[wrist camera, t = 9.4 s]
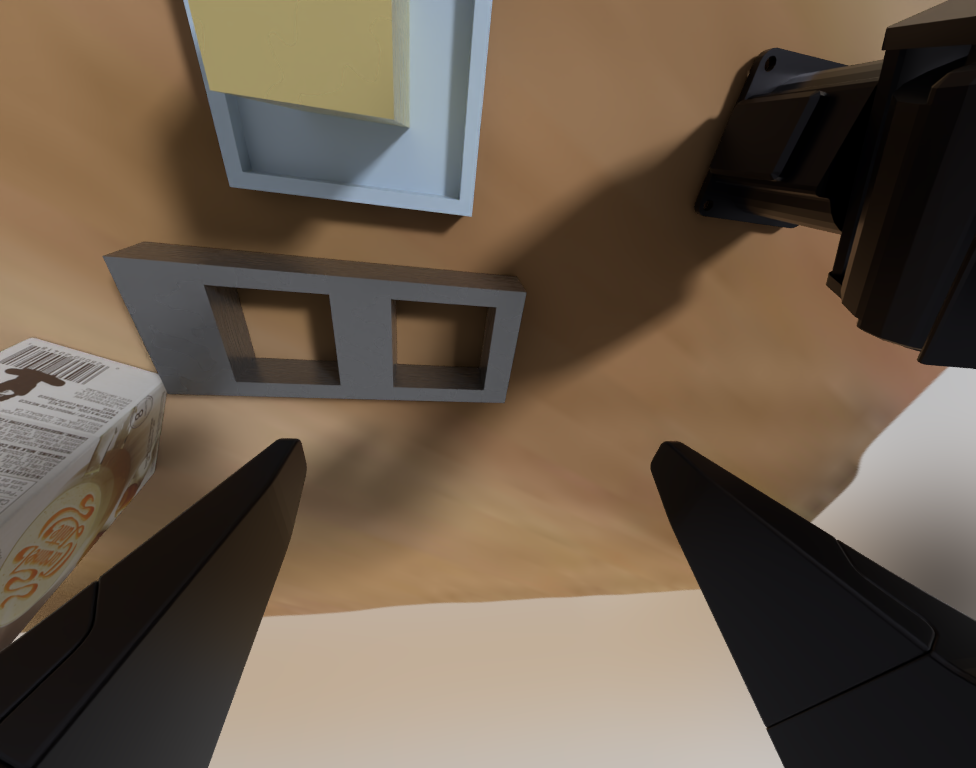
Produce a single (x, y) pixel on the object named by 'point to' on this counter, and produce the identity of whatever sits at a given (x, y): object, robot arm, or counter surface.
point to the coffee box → (66, 463)
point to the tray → (374, 127)
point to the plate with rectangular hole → (355, 314)
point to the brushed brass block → (310, 54)
